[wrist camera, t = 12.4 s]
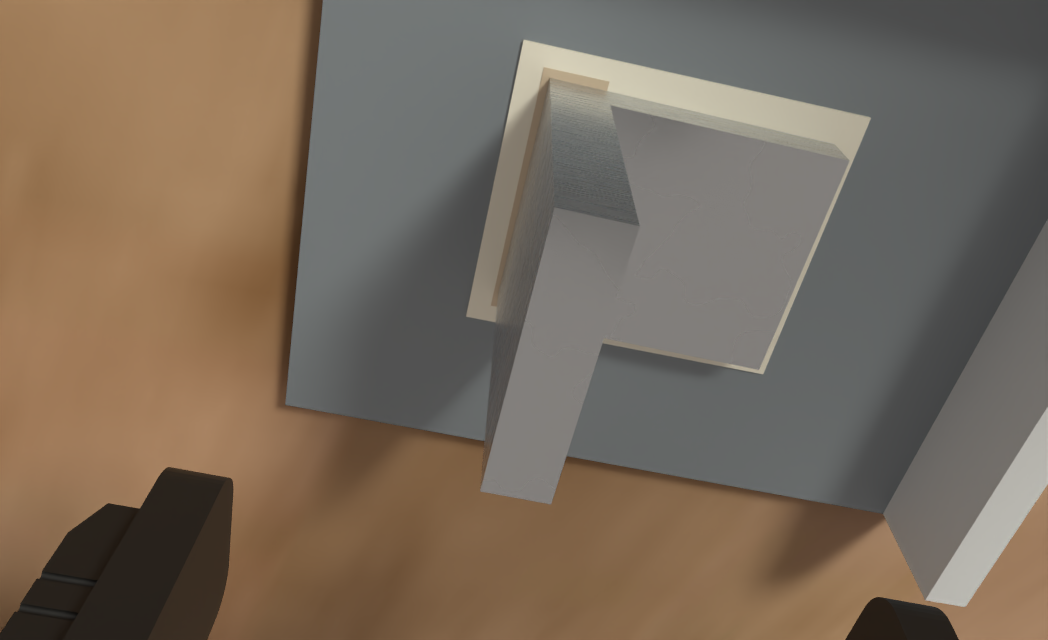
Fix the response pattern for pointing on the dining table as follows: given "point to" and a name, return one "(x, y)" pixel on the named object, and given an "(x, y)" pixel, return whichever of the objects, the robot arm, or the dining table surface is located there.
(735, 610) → the dining table surface
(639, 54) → the corner arena
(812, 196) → the angle bracket
